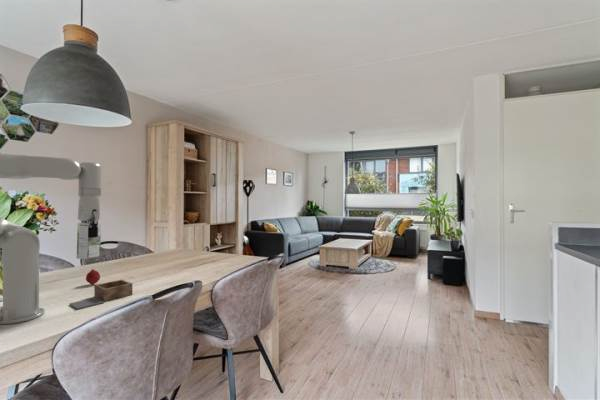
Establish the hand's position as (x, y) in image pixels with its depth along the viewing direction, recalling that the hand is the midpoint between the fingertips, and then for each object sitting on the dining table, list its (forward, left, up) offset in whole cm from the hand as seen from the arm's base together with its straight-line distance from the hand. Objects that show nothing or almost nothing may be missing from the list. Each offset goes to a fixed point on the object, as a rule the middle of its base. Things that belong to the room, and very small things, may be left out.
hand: (89, 236), depth 121 cm
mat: (-1, 0, -27) cm, 27 cm away
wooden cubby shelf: (+10, +3, -27) cm, 29 cm away
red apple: (+11, +30, -28) cm, 42 cm away
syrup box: (0, 0, -9) cm, 9 cm away
